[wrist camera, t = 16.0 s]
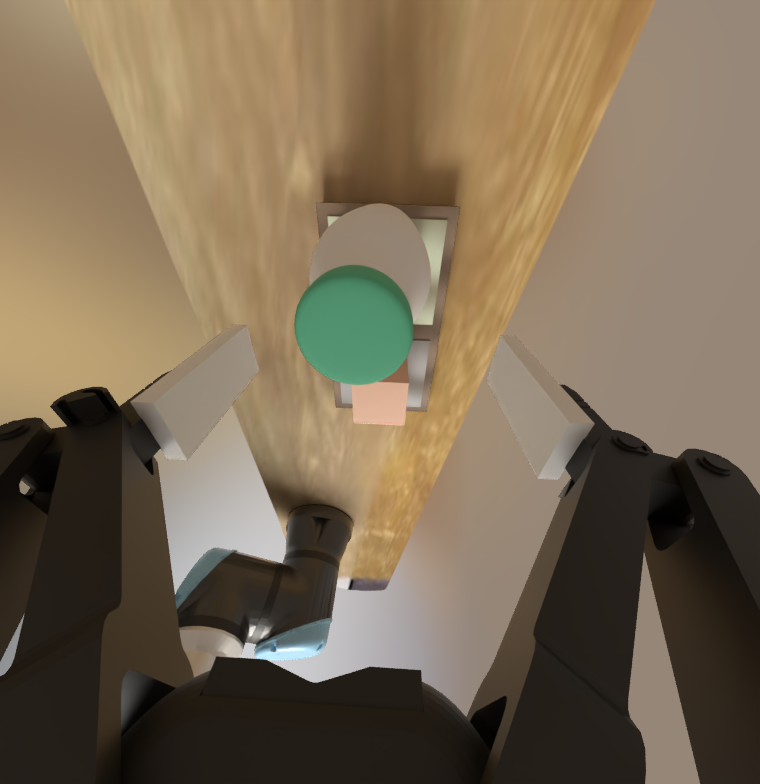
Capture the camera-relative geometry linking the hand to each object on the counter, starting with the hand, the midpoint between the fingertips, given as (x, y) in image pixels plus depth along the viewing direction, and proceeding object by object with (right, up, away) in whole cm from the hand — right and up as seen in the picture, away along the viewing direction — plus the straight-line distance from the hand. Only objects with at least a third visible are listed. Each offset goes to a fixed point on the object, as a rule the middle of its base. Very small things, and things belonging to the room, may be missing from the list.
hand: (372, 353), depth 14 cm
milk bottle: (0, +12, +12) cm, 17 cm away
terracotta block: (+1, 0, +20) cm, 20 cm away
